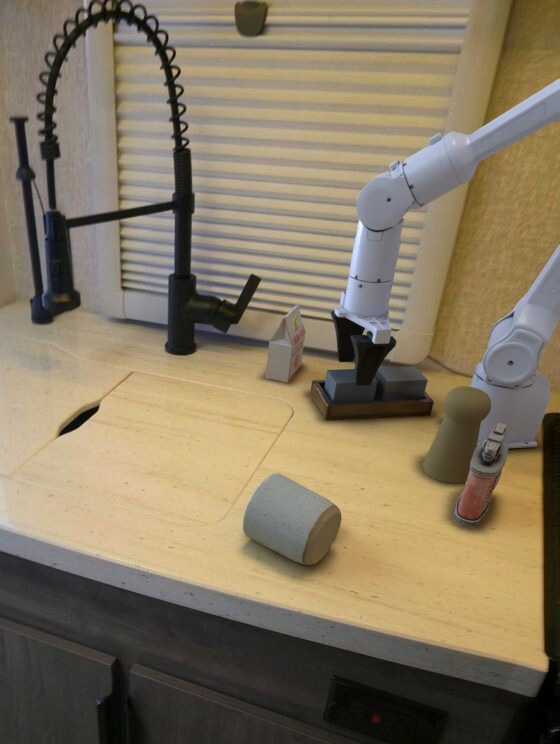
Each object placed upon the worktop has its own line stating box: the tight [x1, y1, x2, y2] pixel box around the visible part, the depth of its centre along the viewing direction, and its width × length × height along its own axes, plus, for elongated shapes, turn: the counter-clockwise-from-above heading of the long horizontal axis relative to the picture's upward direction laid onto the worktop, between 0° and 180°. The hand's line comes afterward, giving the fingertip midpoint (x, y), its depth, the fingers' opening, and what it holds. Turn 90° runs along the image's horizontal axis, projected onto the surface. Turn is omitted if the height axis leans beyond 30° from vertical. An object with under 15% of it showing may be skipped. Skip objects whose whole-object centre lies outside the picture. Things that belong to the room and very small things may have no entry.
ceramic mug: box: [242, 472, 342, 566], centre depth 70 cm, size 11×8×8 cm
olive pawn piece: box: [422, 385, 491, 485], centre depth 81 cm, size 6×6×11 cm
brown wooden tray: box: [309, 366, 435, 421], centre depth 97 cm, size 16×8×5 cm, turn 96°
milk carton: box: [265, 304, 307, 384], centre depth 104 cm, size 4×7×10 cm, turn 154°
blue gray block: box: [324, 368, 377, 403], centre depth 96 cm, size 6×4×4 cm
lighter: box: [453, 423, 509, 528], centre depth 75 cm, size 8×3×10 cm, turn 148°
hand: (353, 372), depth 95 cm, fingers open, 7 cm apart
